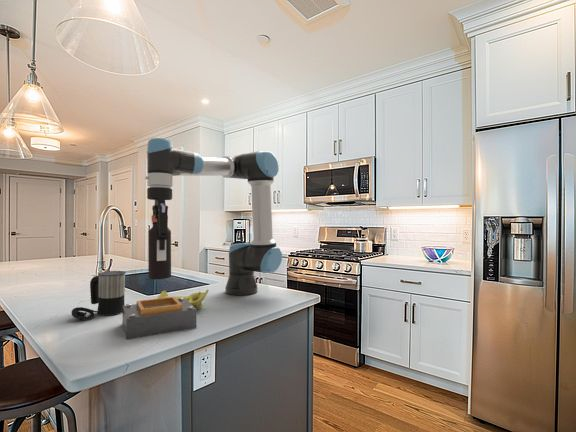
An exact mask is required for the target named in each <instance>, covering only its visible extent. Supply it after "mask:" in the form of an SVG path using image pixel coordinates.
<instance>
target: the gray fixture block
mask: <svg viewBox="0 0 576 432" xmlns="http://www.w3.org/2000/svg"><path fill="white" fill-rule="evenodd" d="M197 310H198V309H196V308H195V307H194V306H193V305H192V304H190V303H189V302H188V301H187V300H186V299H185V298H178V299H176V298H175V296H169V297H167V298H159V299H157V298H152V299H143V300H136V303H135V304H132V303H127V304H125V306H123V310H122V313H121V314H122V316H121V317H122V320H121V321H122V323H121V324H122V329H123V332H124V336H125V340H126V341H127V340H133V339H139V338H146V337H150V336H157V335H162V334H163V335H164V334H168V333H169V334H170V333H174V332H179V331H180V332H181V331H186V330H191V329H197V328H198V327H197V319H198V318H197Z"/></svg>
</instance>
